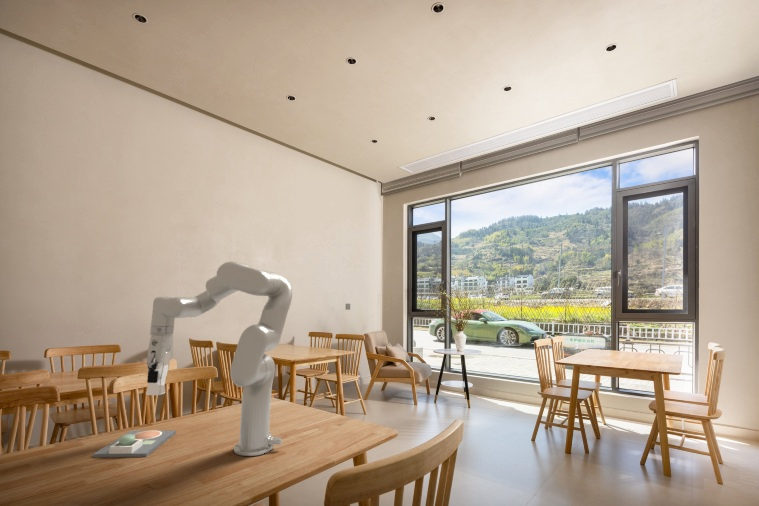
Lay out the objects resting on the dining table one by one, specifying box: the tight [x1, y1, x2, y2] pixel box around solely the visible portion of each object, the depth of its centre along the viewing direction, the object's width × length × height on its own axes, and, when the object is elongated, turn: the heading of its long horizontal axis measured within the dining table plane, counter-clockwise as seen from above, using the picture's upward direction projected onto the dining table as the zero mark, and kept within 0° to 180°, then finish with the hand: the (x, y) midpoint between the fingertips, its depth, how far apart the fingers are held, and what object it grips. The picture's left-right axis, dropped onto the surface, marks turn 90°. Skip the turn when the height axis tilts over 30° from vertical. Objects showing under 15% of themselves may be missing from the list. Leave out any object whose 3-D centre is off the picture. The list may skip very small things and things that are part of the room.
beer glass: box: [145, 351, 171, 396], centre depth 143 cm, size 7×7×15 cm
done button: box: [118, 434, 135, 446], centre depth 127 cm, size 4×4×2 cm
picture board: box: [92, 429, 177, 458], centre depth 134 cm, size 16×22×3 cm
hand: (157, 380), depth 142 cm, fingers closed on beer glass, 6 cm apart
